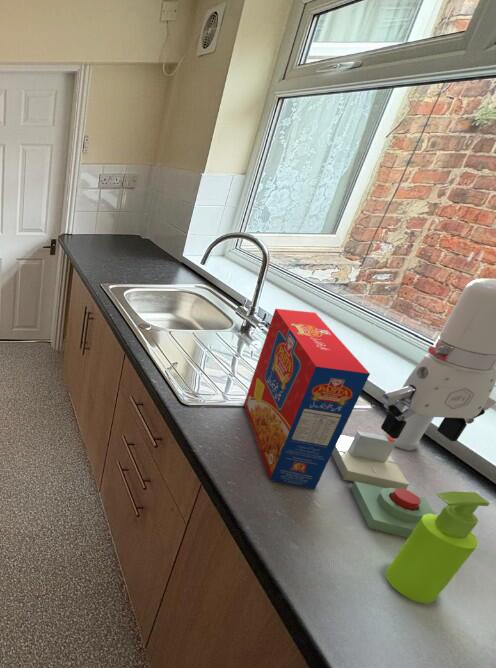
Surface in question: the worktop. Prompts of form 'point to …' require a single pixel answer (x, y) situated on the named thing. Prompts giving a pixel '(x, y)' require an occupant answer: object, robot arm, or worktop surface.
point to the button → (405, 499)
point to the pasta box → (301, 396)
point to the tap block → (367, 468)
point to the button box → (387, 510)
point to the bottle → (412, 431)
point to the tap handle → (372, 446)
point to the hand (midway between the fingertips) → (417, 434)
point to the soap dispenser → (436, 548)
